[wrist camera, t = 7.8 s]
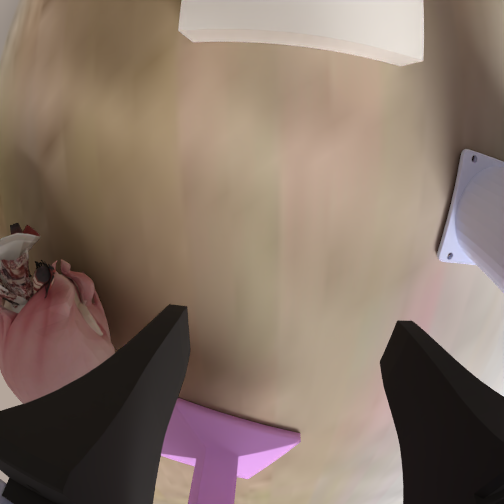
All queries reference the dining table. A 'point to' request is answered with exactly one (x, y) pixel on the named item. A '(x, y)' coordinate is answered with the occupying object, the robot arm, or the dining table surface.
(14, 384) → the toy
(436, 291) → the dining table surface
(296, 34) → the socket block
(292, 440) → the pink table lamp
